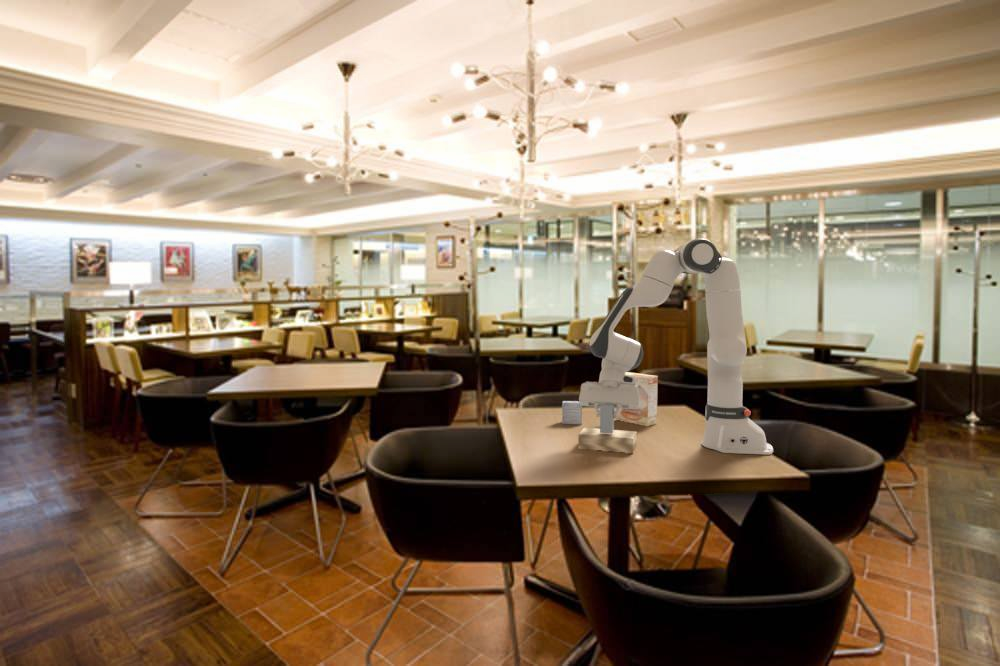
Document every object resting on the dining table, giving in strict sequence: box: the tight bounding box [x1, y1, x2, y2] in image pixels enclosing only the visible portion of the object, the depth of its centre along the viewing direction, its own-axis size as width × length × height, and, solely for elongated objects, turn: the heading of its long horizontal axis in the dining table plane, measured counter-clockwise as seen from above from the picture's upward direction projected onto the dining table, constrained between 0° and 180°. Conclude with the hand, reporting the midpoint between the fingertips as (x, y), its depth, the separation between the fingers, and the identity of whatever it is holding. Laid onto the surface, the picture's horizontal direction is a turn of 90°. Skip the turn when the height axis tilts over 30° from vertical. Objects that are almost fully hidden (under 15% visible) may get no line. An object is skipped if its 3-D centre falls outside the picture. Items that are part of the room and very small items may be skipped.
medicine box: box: [561, 400, 583, 425], centre depth 230 cm, size 8×4×9 cm, turn 84°
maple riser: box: [577, 427, 638, 454], centre depth 195 cm, size 18×10×5 cm, turn 71°
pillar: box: [599, 404, 615, 434], centre depth 192 cm, size 4×4×9 cm
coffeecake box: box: [615, 371, 659, 427], centre depth 232 cm, size 15×7×20 cm, turn 43°
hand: (606, 416), depth 191 cm, fingers open, 4 cm apart
